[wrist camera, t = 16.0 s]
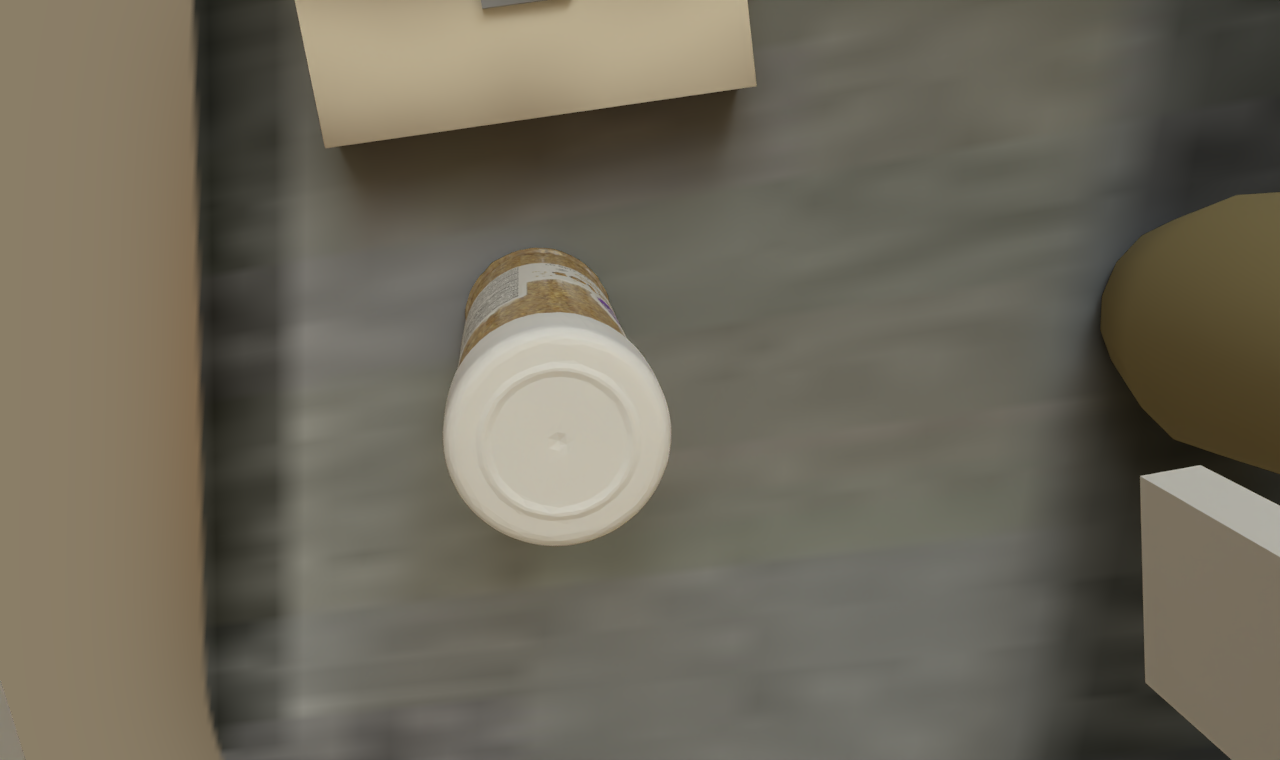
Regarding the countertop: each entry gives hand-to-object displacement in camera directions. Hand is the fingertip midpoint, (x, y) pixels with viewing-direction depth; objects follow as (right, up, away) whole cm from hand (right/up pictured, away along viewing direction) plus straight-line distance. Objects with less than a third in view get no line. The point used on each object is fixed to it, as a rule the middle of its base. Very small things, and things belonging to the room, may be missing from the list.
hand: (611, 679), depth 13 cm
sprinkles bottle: (-3, +5, +22) cm, 23 cm away
